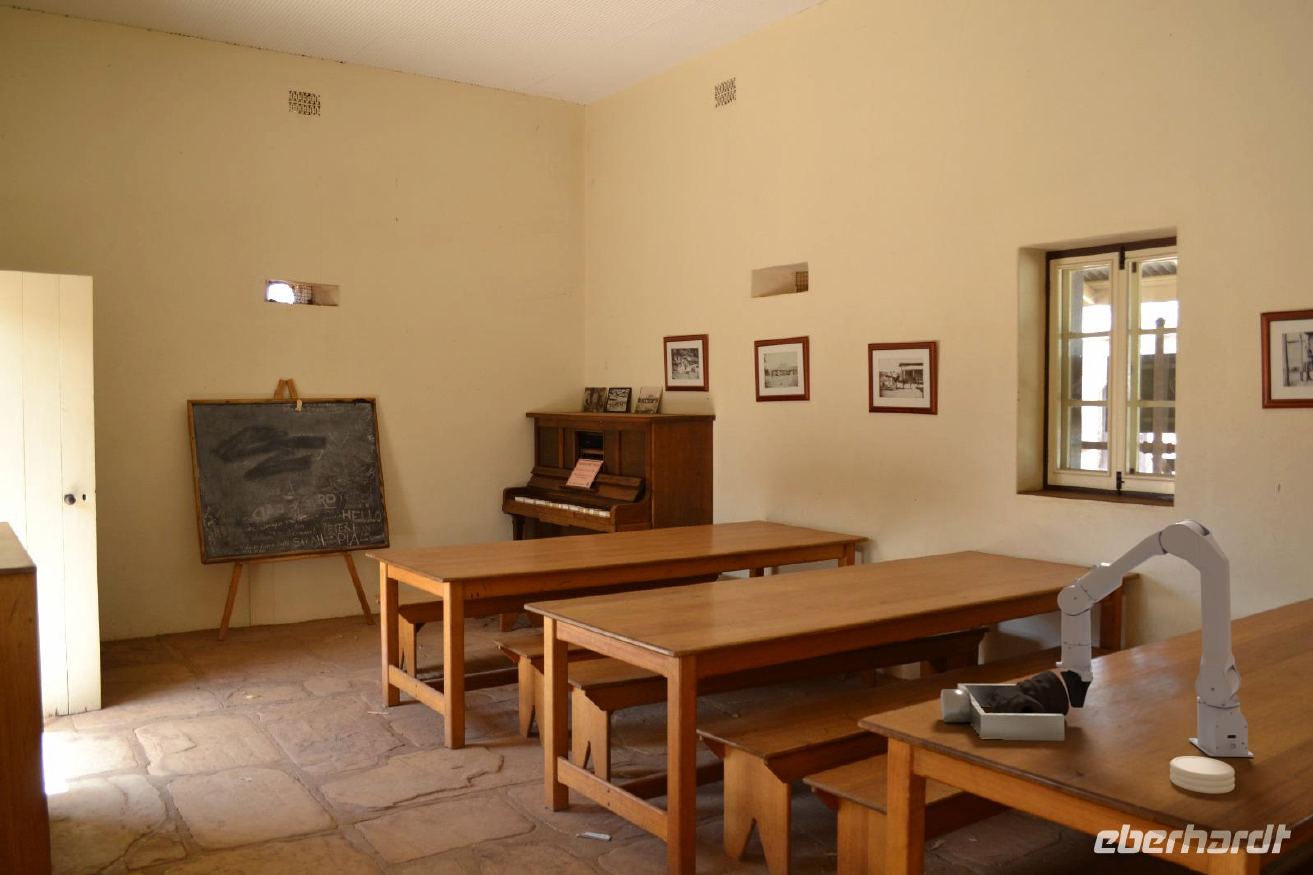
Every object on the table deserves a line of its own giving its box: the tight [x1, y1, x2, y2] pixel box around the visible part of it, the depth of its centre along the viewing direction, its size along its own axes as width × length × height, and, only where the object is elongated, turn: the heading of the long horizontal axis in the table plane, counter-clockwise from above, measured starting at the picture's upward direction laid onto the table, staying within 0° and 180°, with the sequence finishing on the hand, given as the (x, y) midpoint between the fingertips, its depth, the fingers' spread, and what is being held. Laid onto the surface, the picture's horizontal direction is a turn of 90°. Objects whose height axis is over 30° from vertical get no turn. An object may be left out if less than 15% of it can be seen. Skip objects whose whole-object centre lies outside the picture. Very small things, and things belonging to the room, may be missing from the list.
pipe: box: [987, 669, 1070, 717], centre depth 215 cm, size 10×15×15 cm
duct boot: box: [940, 683, 1065, 742], centre depth 214 cm, size 23×21×7 cm
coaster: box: [1169, 755, 1236, 795], centre depth 177 cm, size 10×10×4 cm
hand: (1076, 706), depth 212 cm, fingers closed
